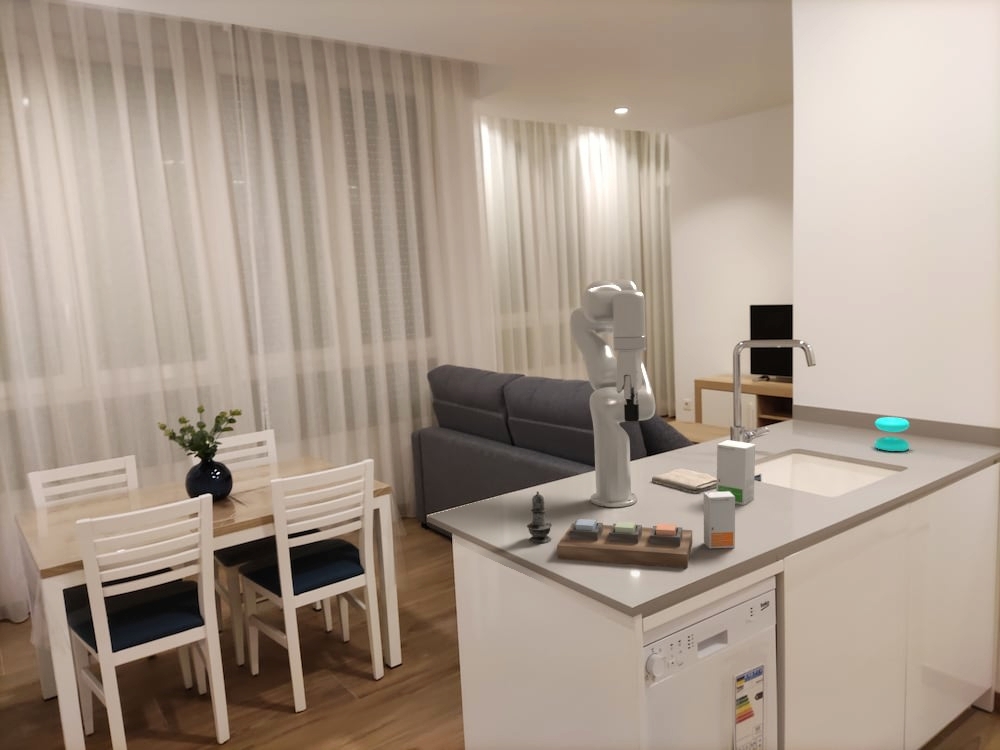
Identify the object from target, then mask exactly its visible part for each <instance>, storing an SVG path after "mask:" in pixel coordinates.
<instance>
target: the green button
mask: <svg viewBox="0 0 1000 750" xmlns="http://www.w3.org/2000/svg"><path fill="white" fill-rule="evenodd" d="M615 524H616V526H615V532H620V533H635V531H636V525H637V524H636V521H625V520H624V521H619V520H618V521H617V522H616V523H615Z"/></svg>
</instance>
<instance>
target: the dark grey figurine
mask: <svg viewBox="0 0 1000 750" xmlns="http://www.w3.org/2000/svg"><path fill="white" fill-rule="evenodd" d="M544 497H545V496H544V495H542V494H540V492H539V491H536V494H535V495H533V496H532V498H531V500H532V501H531V502H532V503H531V504H532V509H530V512H531V513H532V520H531V522H529V523H528V524H527V525H526V528H527V529H528V532H529V534H530V535H531V537H529V539H528V541H529V542H530V543H531V544H536V545H541V544H542V545H543V544H548V543H550V542H551V541H552V538H551V537H550V536H548V535H549V534H550V532H551V528H552V523H550V522H549V521H547V519H546V512H547V508H546V507H545V498H544Z"/></svg>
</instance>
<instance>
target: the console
mask: <svg viewBox="0 0 1000 750" xmlns="http://www.w3.org/2000/svg"><path fill="white" fill-rule="evenodd" d="M577 522H578V520H577V521H575V522H573V523H571V525H570V526H569V528H568V529H567V531H566V532H565V533H564V535H563V536H562V537H561V539H560V541H559V542H558V543H557V545H556V547H557V553H556V554H557V559H563V560H576V561H586V562H587V561H590V562H600V561H601V562H603V563H605V562H606V563H614V562H621V563H620V564H627V563H635V564H634V565H640V564H647V565H646V566H653V565H659V566H658V567H667V566H669V567H671V568H683V569H688V567H689V561H690V556H691V552H692V547H693V530H692V529H683V527H679V526H676V536H668V535H656V528H657V525H653V526H652V527H644V526H643V525H642V524H636V531H635V533H620V532H615V526H616V524H617V523H613V525H608V524H607V525H606V524H603V522H596V529H595V531H587V530H576V528H575V524H576V523H577Z"/></svg>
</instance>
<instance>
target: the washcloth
mask: <svg viewBox="0 0 1000 750" xmlns="http://www.w3.org/2000/svg"><path fill="white" fill-rule="evenodd" d="M651 482H652V483H654V482H657V483H656V484H658V483H660V484H659V485H661V484H664V485H663V486H665V485H667V486H666V487H669V486H670V488H673V487H674V488H673V489H677V488H678V490H680V489H682V490H681V491H684V490H686V491H685V492H687V491H689V492H688V493H691V492H693V493H692V494H695V493H697V492H701V493H705V492H708V490H709V491H711V490H710V489H712V490H714V489H715V490H716V489H717V477H714V476H712V475H710V474H709V473H706V472H705V473H704V472H699V471H696V470H691V469H690V470H689V469H684V468H677V469H674V470H673V469H672V470H671V471H668V472H666V473H665V472H664V473H660V474H656V475H654V476H652V478H651ZM704 491H705V492H704Z"/></svg>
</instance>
